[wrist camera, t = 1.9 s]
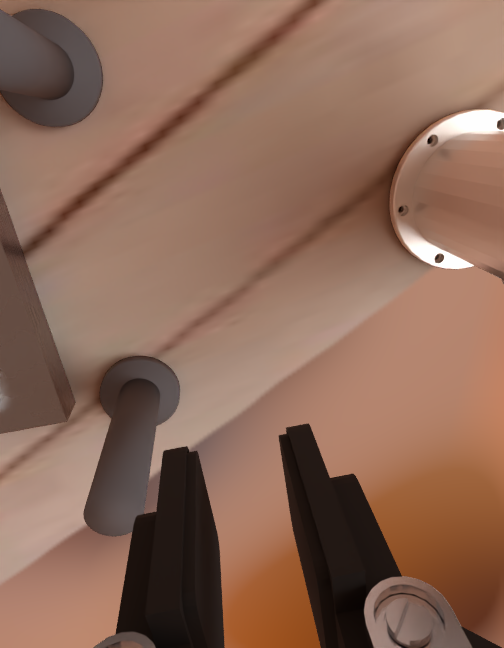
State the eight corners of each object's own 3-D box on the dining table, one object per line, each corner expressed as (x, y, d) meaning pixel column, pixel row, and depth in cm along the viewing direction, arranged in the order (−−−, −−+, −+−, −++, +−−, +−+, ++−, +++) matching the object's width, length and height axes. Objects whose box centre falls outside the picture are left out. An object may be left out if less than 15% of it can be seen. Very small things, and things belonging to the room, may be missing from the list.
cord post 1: (123, 76, 33) (69, 36, 19) (58, 148, 34) (-36, 159, 20) (41, -14, 30) (-90, -135, 16) (-25, 67, 32) (-198, 18, 18)
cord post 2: (195, 389, 43) (194, 510, 29) (143, 435, 44) (118, 572, 31) (138, 341, 41) (107, 448, 27) (85, 391, 42) (30, 518, 28)
